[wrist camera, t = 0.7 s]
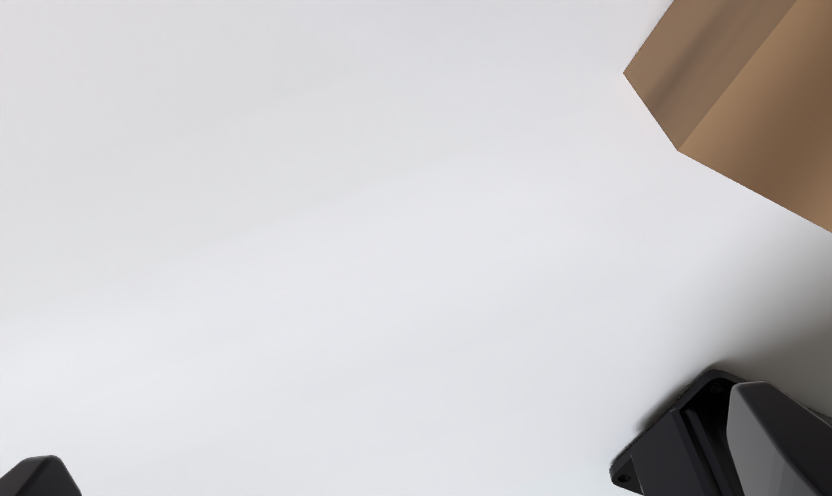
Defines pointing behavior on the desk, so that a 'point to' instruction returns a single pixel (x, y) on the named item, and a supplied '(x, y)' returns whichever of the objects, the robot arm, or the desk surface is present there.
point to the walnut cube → (747, 94)
